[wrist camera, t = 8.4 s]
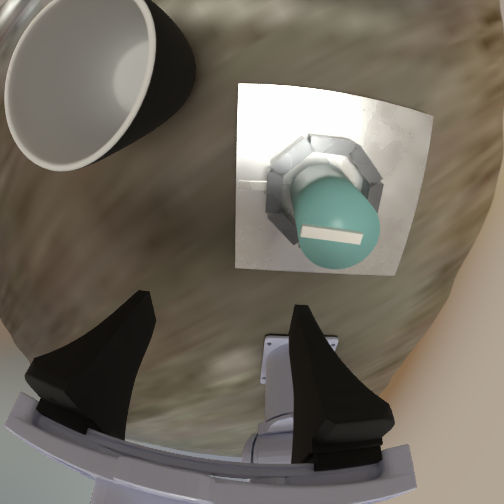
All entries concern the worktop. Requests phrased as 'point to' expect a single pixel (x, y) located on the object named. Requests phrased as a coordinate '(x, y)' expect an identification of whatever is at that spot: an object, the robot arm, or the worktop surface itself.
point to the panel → (323, 152)
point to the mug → (94, 79)
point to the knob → (333, 218)
